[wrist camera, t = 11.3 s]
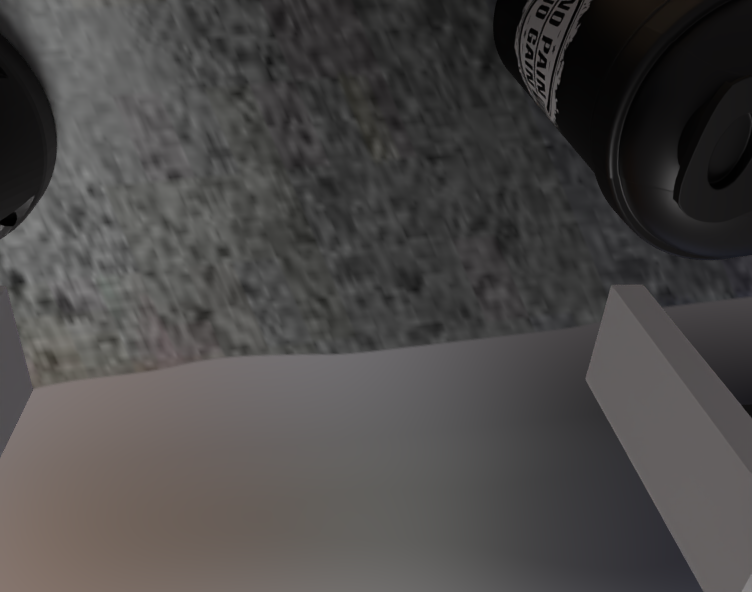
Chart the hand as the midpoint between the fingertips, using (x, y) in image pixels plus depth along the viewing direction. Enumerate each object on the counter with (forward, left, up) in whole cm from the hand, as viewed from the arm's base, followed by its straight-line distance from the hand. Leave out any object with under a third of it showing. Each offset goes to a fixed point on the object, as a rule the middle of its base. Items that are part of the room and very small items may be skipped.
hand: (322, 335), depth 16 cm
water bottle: (+15, +2, -29) cm, 33 cm away
